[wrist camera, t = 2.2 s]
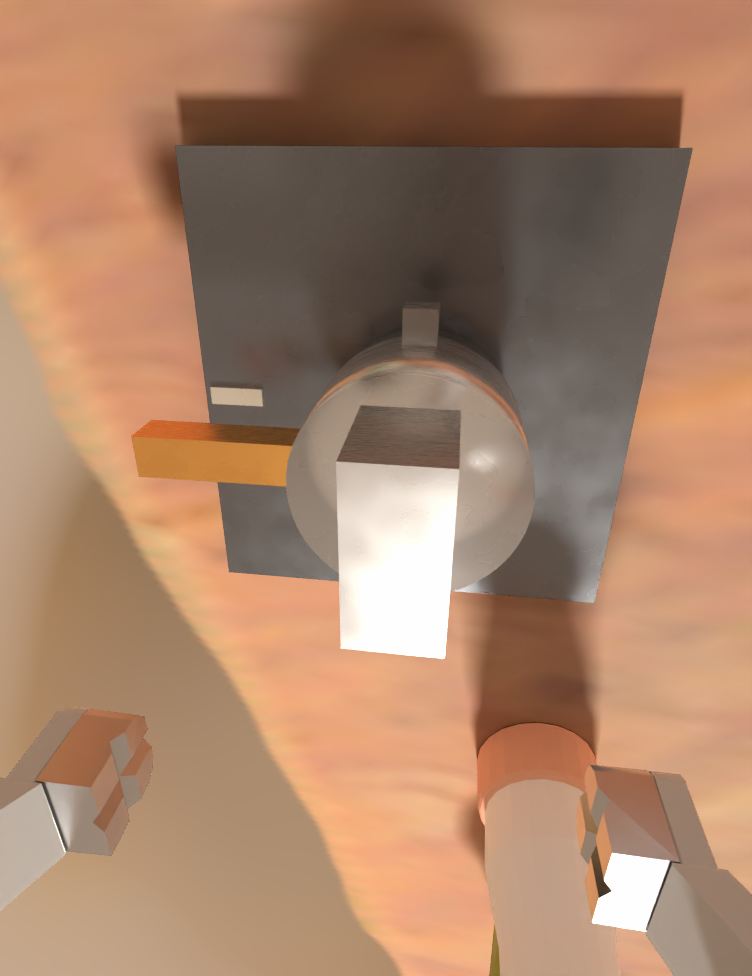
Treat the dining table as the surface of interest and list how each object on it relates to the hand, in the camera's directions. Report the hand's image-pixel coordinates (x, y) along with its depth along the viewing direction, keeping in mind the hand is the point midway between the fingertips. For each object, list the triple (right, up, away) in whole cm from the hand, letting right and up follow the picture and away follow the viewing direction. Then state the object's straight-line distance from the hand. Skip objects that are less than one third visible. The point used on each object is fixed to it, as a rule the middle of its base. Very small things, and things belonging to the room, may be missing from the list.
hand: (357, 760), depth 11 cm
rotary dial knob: (-1, +7, +13) cm, 15 cm away
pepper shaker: (+10, -12, +28) cm, 32 cm away
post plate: (+3, +9, +17) cm, 20 cm away
